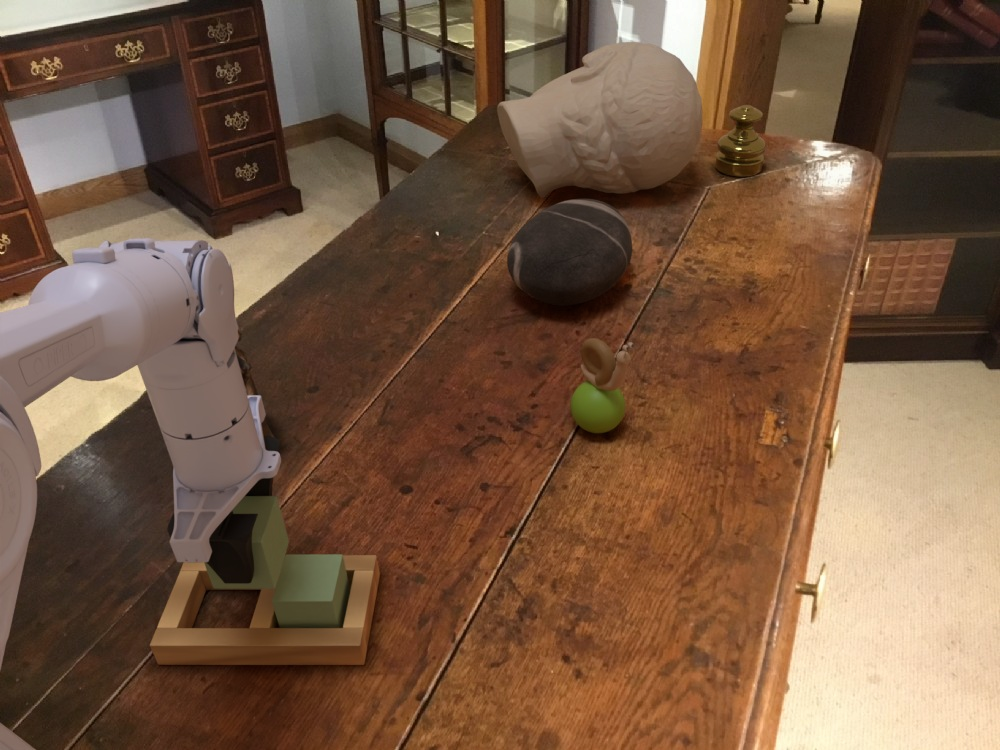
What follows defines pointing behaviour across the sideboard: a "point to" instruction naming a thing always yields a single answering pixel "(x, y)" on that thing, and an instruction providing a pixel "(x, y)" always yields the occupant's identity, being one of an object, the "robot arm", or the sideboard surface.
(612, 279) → the decorative stone
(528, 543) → the sideboard surface
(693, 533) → the sideboard surface
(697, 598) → the sideboard surface
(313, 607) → the green cubic block
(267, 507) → the olive green cubic block
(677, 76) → the bust
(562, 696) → the sideboard surface
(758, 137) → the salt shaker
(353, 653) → the backing frame
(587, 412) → the snail figurine
